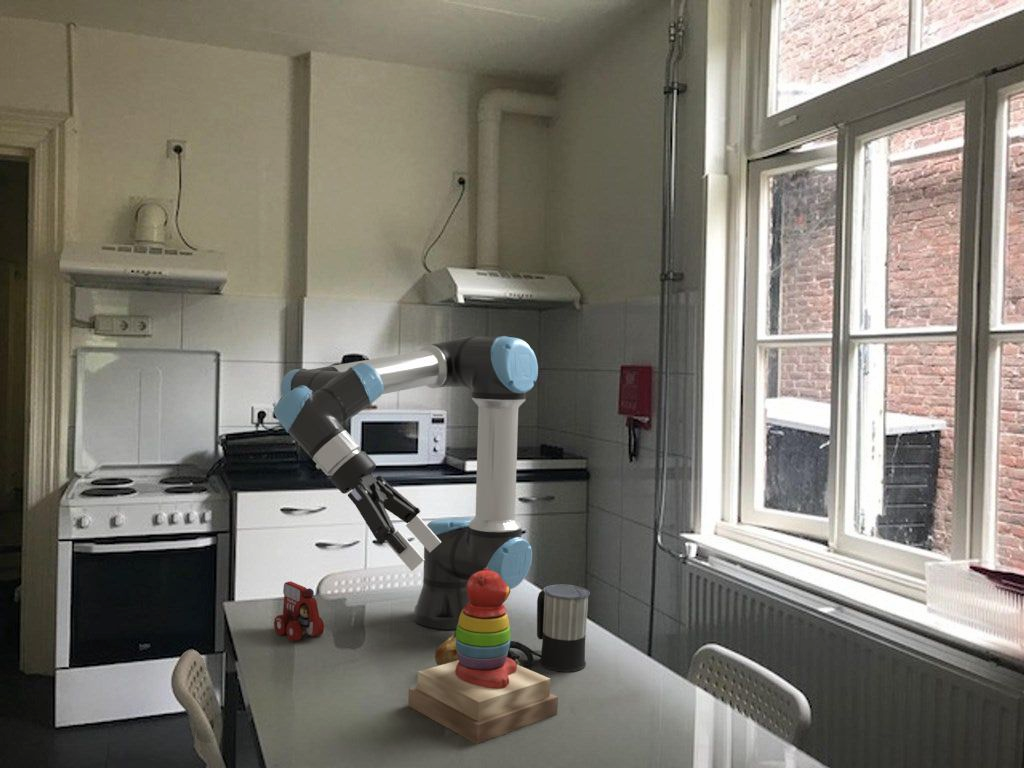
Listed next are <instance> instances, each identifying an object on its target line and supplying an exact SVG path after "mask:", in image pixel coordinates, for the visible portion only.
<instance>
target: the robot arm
mask: <svg viewBox="0 0 1024 768" xmlns="http://www.w3.org/2000/svg"><path fill="white" fill-rule="evenodd" d="M538 376H539V365H538V360H537V357H536V354H535V352H534V350H533V348H531V347H530V345H529V343H527V341H525V340H524V339H521V338H517V337H510V336H506V335H502V336H476V335H475V336H474V335H473V336H464V337H459V338H454V339H451V340H445V341H441V342H438V343H431V344H427V345H424V346H423V347H422V348H420V350H419V351H413V352H407V353H402V354H395V355H394V354H393V355H389V356H383V357H377V358H372V359H365V360H359V361H353V362H348V363H347V362H346V363H340V364H335V365H330V366H324V367H323V366H322V367H318V368H311V369H310V368H309V369H307V368H299V369H297V368H296V369H292V370H289V372H287V373H286V374H285V375H284V376H283V377H282V380H281V382H280V394H281V395H280V396H281V399H279V401H278V402H277V404H276V405H275V407H274V409H273V412H274V413H273V415H274V416H275V418H276V419H277V420H278V422H279V424H280V425H281V426H282V427H283V428H284V430H285V431H286V433H288V434H289V435H290V436H291V437H292V438H293V440H295V441H296V443H297V444H298V445H299V446H300V447H301V448H302V449H303V450H304V452H305V453H307V454H308V456H309V457H310V458H311V459H312V461H313V462H314V463H315V467H316V469H317V470H320V469H321V471H322V472H323V473H324V474H325V475H326V476H330V481H331V482H332V483H333V485H334V486H335V487H336V488H337V489H338V490H339V492H340V493H341V494H343V495H344V494H347V497H348V498H349V500H351V502H352V503H353V504H354V506H355V507H356V509H357V510H358V512H359V514H360V516H361V517H362V518H363V520H364V522H365V523H366V525H367V527H368V529H369V530H370V532H371V533H372V535H373V536H374V538H375V539H376V541H377V543H378V544H379V545H382V544H384V543H386V544H387V545H388V546H389V547H390V548H391V549H392V551H393V552H394V553H395V554H396V556H397V557H399V559H400V560H401V561H402V562H403V563H404V564H405V565H406V566H407V567H408V569H409V570H410V571H411V572H413V571H414V570H416V568H417V567H419V565H421V564H422V563H423V577H422V578H423V581H422V583H423V584H422V588H421V590H420V593H419V597H418V600H417V604H416V605H415V606H414V612H413V614H414V615H413V620H414V622H415V623H417V624H419V625H420V626H423V627H426V628H431V629H436V630H437V629H438V630H456V629H457V625H458V621H459V617H460V613H461V611H462V610H463V609H464V607H465V605H466V604H467V603H469V599H468V596H467V582H468V580H469V578H470V577H471V576H472V575H473V574H474V573H476V572H479V571H483V569H484V568H486V567H488V568H489V571H494V572H496V573H498V574H499V575H500V576H501V578H502V580H503V581H504V582H505V583H506V584H507V586H508V587H509V588H510V590H512V589H514V588H516V587H518V586H519V585H520V584H521V583H522V582H523V580H524V578H526V576H527V574H528V573H529V571H530V569H531V565H532V562H533V561H532V559H533V549H532V547H531V545H530V543H529V541H528V540H526V539H525V538H524V537H522V529H523V527H522V524H521V523H520V522H519V520H518V519H516V499H517V497H516V496H517V495H516V493H517V492H516V490H517V466H518V465H517V462H518V460H517V459H518V456H517V455H518V432H519V431H518V429H519V428H518V427H519V408H520V407H521V406H522V404H523V403H524V402H526V395H527V394H526V393H527V392H529V391H531V390H532V388H533V387H534V386H535V383H536V382H537V379H538ZM423 386H427V387H428V388H429V389H438V388H443V387H444V388H445V387H446V388H447V387H450V388H461V389H462V388H463V389H470V390H471V400H472V401H473V402H474V404H476V405H477V407H478V414H477V415H478V416H477V417H478V418H477V419H478V420H477V423H478V424H477V450H476V453H477V455H476V456H477V458H476V483H475V484H476V488H475V490H476V491H475V516H474V518H473V517H449V518H448V517H447V518H440V519H439V518H438V519H435V520H434V519H433V520H430V521H429V522H428V523H427V524H426V523H425V521H424V520H423V519H422V518H421V517H420V516H419V515H418V514H420V512H421V510H420V508H419V507H417V506H415V505H414V504H413V503H412V502H411V501H409V500H408V499H407V498H406V497H404V496H403V495H402V494H401V493H400V491H399V492H398V491H397V490H396V489H395V488H394V487H393V486H392V485H391V484H390V483H388V482H387V481H386V480H385V478H384V477H383V476H382V475H381V474H379V475H378V476H376V477H374V476H373V475H372V472H374V470H375V469H376V468H377V467H376V465H377V464H376V462H375V461H373V459H371V457H370V456H369V455H368V453H366V451H363V450H361V446H360V444H359V443H358V442H357V441H356V439H354V438H353V436H352V435H351V434H350V433H349V432H348V431H347V430H346V429H345V427H344V426H343V425H344V424H345V423H346V422H348V421H349V420H350V419H352V418H353V417H355V416H356V415H357V414H359V413H360V412H362V411H363V410H365V409H366V408H368V407H370V406H371V405H372V404H373V403H374V402H375V401H377V400H378V399H379V398H381V396H382V395H385V394H392V393H395V392H400V391H406V390H410V389H416V388H420V387H423ZM387 511H388V512H390V513H391V514H393V515H394V516H396V517H397V518H398V519H400V520H401V521H403V522H404V523H406V525H405V526H406V528H407V529H408V530H409V531H410V532H411V533H412V534H413V535H414V537H415V538H416V539H417V540H418V541H419V542H420V544H422V546H423V556H422V555H421V553H420V552H419V551H418V550H417V549H416V547H415V546H414V545H413V544H412V543H411V542H410V540H408V539H407V538H406V536H404V534H403V533H402V532H401V531H400V530H399V529H397V530H396V528H395V526H394V524H393V522H392V520H391V518H390V516H389V514H388V512H387Z"/></svg>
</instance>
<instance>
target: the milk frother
mask: <svg viewBox="0 0 1024 768" xmlns="http://www.w3.org/2000/svg"><path fill="white" fill-rule="evenodd" d="M589 596H590V591H589V590H588V589H586V588H584V587H581V586H577V585H572V584H561V583H560V584H552V585H547V586H545V587H543V589H542V590H540V592H539V593H538V595H537V600H536V605H537V606H536V636H537V639H538V640H542V643H541V652H540V654H538V653H537V652H535V651H533V650H532V649H531V648H530V647H528V646H527V645H525V644H523V643H521V642H519V641H515V640H514V641H512V640H510V646H509V650H508V655H507V658H510V659H512V660H514V661H515V662H516V664H517V665H519V666H522V667H524V668H526V669H528V668H529V667H531V666H532V665H533V662H534V656H533V655H535V656H536V657H539V658H540V659H539V664H540V665H541V666H543V667H544V668H546V669H549V670H552V671H553V670H554V671H557V672H562V673H563V672H577V671H581V670H583V669H584V668H585V667H586V666H587V663H586V637H587V635H586V634H587V621H588V619H587V618H588V608H589V607H588V606H589ZM511 649H515V650H519V651H520V652H522V653H523V654H524V655H525V657H526V660H525V661H523V662H519V660H520V657H521V655H520V654H516V653H515V652H514V651H513V650H511Z"/></svg>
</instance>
